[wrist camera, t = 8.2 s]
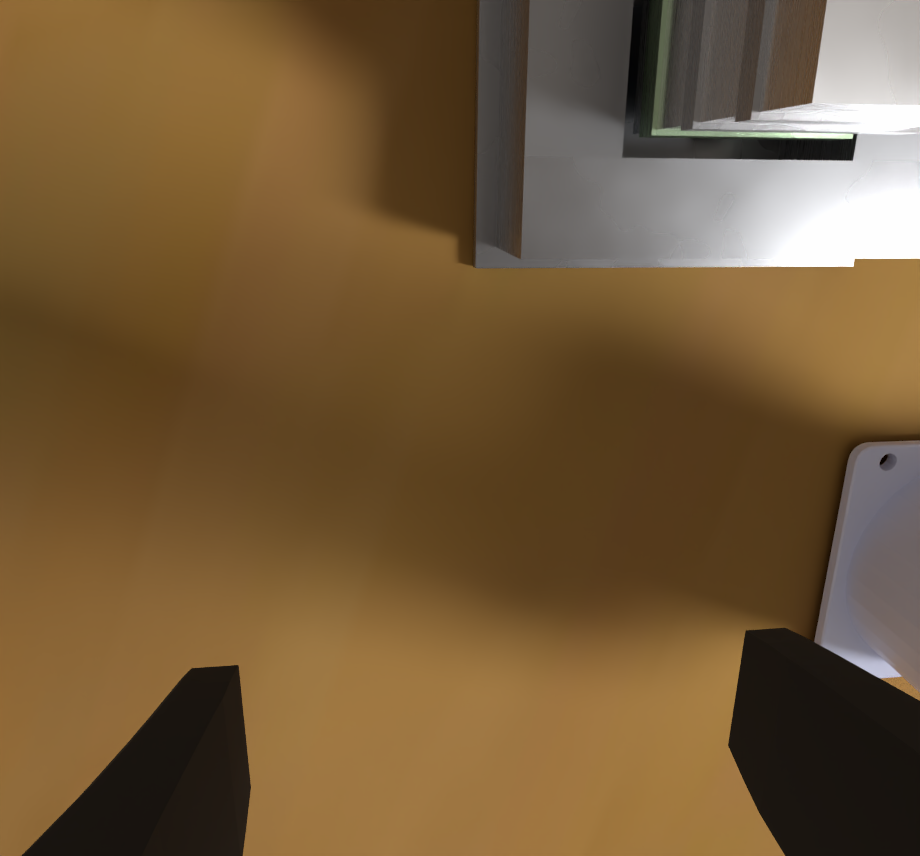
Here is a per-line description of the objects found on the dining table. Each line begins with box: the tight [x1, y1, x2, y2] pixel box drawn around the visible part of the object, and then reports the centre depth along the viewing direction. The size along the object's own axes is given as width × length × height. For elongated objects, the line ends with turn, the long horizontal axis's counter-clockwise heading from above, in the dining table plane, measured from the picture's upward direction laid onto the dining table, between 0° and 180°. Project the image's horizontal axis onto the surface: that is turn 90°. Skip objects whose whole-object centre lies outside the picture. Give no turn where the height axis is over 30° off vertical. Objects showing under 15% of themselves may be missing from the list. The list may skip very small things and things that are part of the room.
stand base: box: [473, 0, 920, 268], centre depth 16 cm, size 10×10×4 cm
